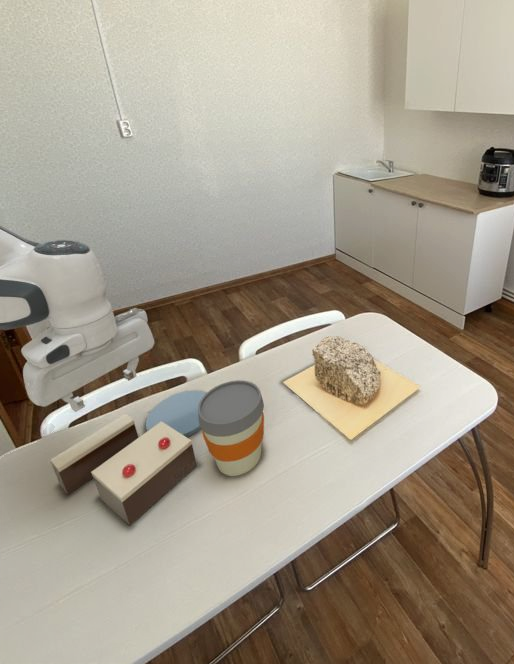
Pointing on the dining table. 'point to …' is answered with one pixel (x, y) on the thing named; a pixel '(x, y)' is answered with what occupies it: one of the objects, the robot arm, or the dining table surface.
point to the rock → (349, 385)
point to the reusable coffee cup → (233, 425)
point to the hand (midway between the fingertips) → (106, 392)
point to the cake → (144, 471)
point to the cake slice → (93, 453)
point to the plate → (177, 412)
